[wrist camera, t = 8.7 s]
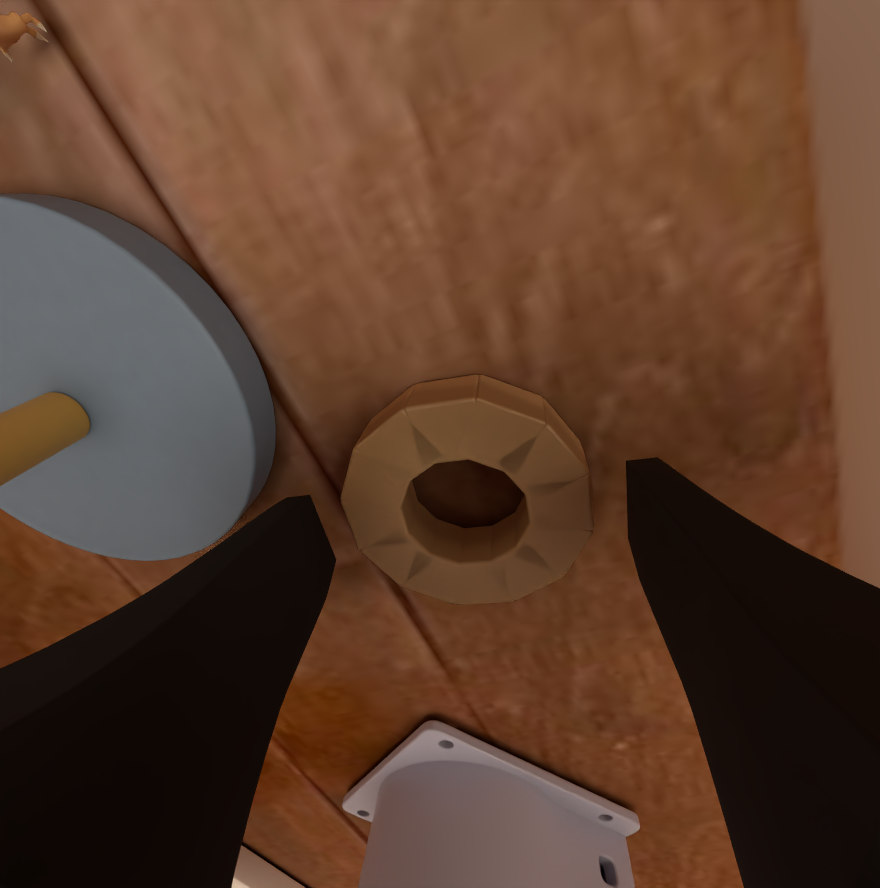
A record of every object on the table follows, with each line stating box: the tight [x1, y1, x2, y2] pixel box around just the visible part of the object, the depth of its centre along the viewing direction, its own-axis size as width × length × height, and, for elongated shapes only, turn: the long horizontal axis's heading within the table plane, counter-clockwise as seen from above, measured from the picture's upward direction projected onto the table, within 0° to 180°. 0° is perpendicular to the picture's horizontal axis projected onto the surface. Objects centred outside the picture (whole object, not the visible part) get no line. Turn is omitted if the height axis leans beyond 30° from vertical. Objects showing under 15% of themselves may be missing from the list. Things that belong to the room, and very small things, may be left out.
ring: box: [340, 375, 594, 605], centre depth 11 cm, size 6×6×1 cm
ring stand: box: [0, 193, 276, 561], centre depth 10 cm, size 9×9×4 cm
